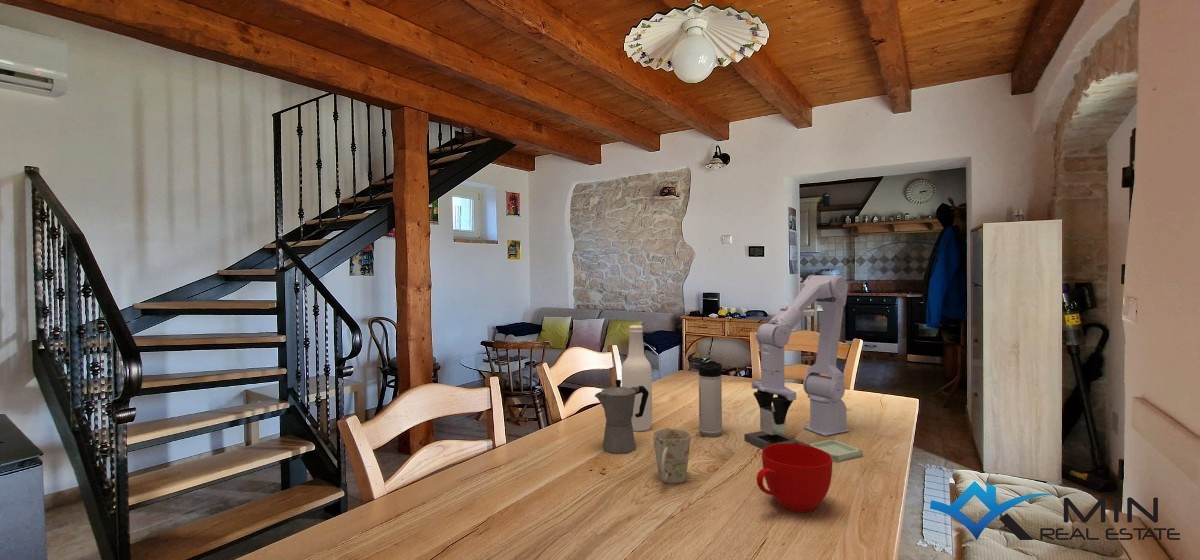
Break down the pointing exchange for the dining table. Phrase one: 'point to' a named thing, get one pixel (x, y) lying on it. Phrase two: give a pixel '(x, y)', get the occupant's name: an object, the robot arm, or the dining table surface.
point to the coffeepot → (620, 416)
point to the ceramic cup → (796, 475)
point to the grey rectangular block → (770, 421)
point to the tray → (838, 450)
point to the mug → (672, 454)
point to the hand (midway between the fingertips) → (773, 421)
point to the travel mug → (710, 399)
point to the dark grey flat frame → (768, 439)
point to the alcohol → (638, 378)
